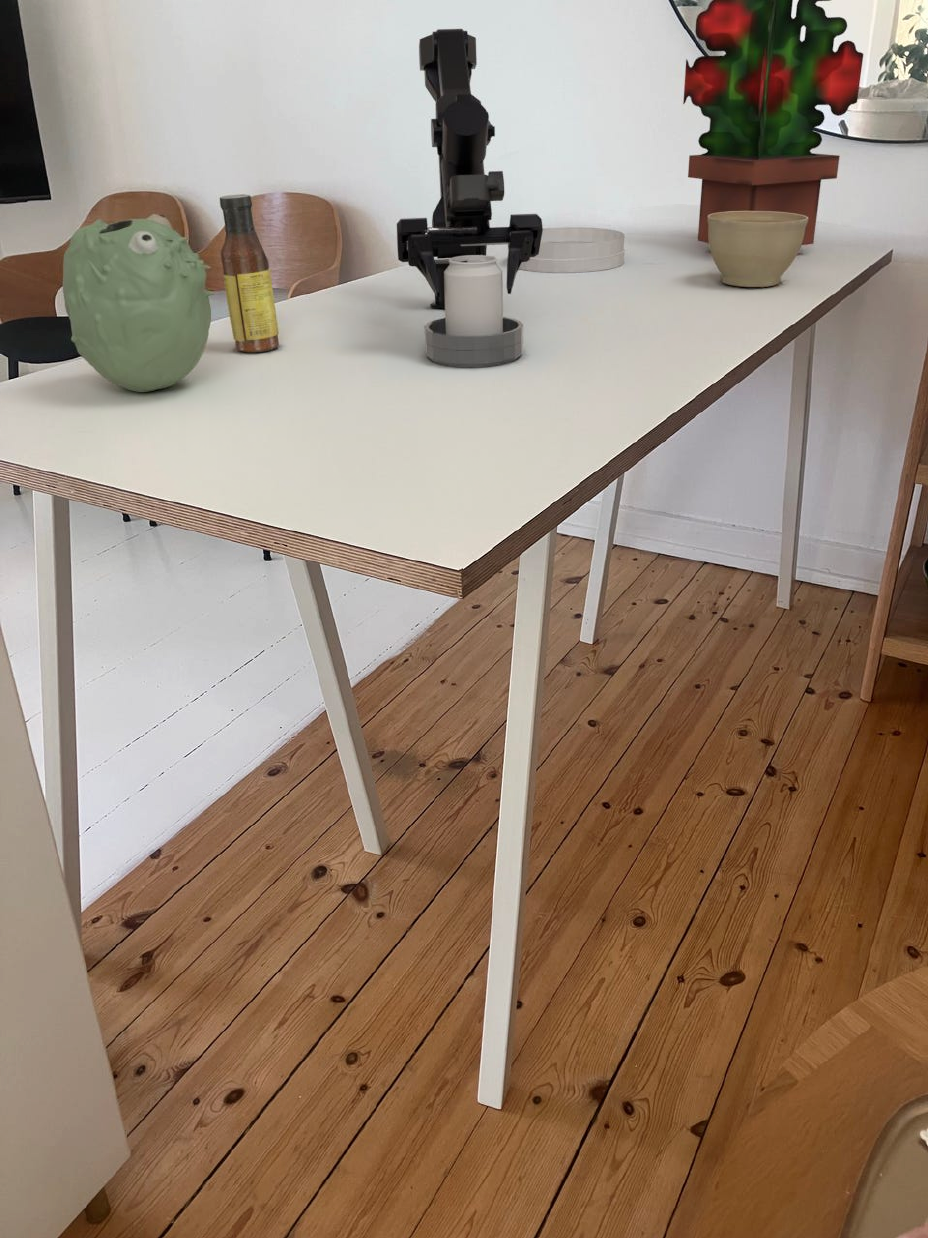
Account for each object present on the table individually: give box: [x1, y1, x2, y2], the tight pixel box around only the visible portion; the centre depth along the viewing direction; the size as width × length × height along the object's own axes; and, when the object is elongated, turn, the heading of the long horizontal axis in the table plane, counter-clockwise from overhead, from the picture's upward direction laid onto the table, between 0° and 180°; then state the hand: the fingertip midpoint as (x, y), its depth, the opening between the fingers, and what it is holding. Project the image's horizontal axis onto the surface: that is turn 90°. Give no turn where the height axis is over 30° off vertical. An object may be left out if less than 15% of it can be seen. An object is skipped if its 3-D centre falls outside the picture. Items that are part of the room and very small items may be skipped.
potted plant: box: [682, 0, 864, 246], centre depth 198 cm, size 22×22×45 cm
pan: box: [423, 316, 524, 368], centre depth 139 cm, size 13×13×4 cm
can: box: [444, 254, 504, 336], centre depth 137 cm, size 8×8×12 cm
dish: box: [518, 226, 626, 274], centre depth 203 cm, size 22×22×5 cm
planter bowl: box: [708, 211, 808, 288], centre depth 178 cm, size 16×16×11 cm
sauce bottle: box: [219, 193, 280, 353], centre depth 142 cm, size 7×6×20 cm
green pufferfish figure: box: [62, 213, 215, 393], centre depth 125 cm, size 16×19×20 cm
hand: (474, 293), depth 136 cm, fingers open, 9 cm apart
